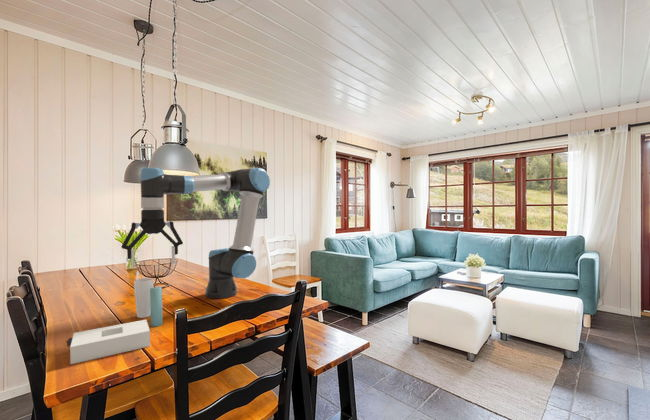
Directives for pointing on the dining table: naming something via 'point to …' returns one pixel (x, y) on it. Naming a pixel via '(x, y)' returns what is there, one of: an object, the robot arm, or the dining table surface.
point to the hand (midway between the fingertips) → (153, 265)
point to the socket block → (109, 341)
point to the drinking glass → (143, 296)
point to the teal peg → (156, 306)
